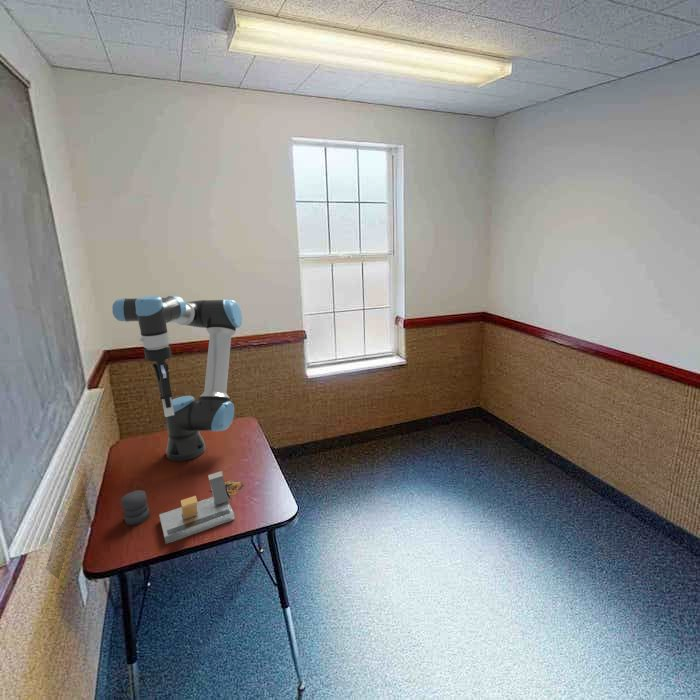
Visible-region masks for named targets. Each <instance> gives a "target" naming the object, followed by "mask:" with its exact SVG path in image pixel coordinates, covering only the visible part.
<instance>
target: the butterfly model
mask: <svg viewBox="0 0 700 700" xmlns="http://www.w3.org/2000/svg"><path fill="white" fill-rule="evenodd" d="M224 484H225V488H226V492H227V495H228V497H229V499H232V498H233V497H234V496H235V495H236V494H237V493H238V492H239V491H240V490H241V489H243V488H244V487H245V484H244V483H243V482H241V481H235V480H234V479H232V480H228V481H224ZM210 491H211V492H212V489H211V488H210V490H208V492H210Z"/></svg>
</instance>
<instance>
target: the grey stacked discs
mask: <svg viewBox="0 0 700 700" xmlns="http://www.w3.org/2000/svg"><path fill="white" fill-rule="evenodd" d="M120 502H121V503H120V504H121V507H122V510H123V511H124V512H123V513H124V514H123V517H124V521H125V524H126V525H128V526H136V525H139V524H142V523H145V522H146V521H147V520H148V519H149V518H150V516H151V513H150V508H149V505H148V503H147V502H148V499H147V492H146V491H145V490H134V491H131V492H128V493H127V494H125V495H123V496H122V497H121V499H120Z"/></svg>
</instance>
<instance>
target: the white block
mask: <svg viewBox="0 0 700 700" xmlns="http://www.w3.org/2000/svg"><path fill="white" fill-rule="evenodd" d="M207 477H208V481H209V484H210V490H211V489H212V490H211V492H212V497H213V498H214V504H215V506H216V505H219V504H221V503H224V502H227V501H228V502H229V501H230V497H229V495H228V492H227V489H226V488H225V484H224V483H225V481H224V473H223V471H222V470H221V471H218V472H213V473H211V474H208V476H207Z"/></svg>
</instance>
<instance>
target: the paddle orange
mask: <svg viewBox="0 0 700 700" xmlns="http://www.w3.org/2000/svg"><path fill="white" fill-rule="evenodd" d="M197 502H198V499H197V496H196V495H193V496H190V497H187V498H184V499H181V500H180V505H181V507H182V519H186V518H188V517H191V516H194V515H197V514H198V512H197Z"/></svg>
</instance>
